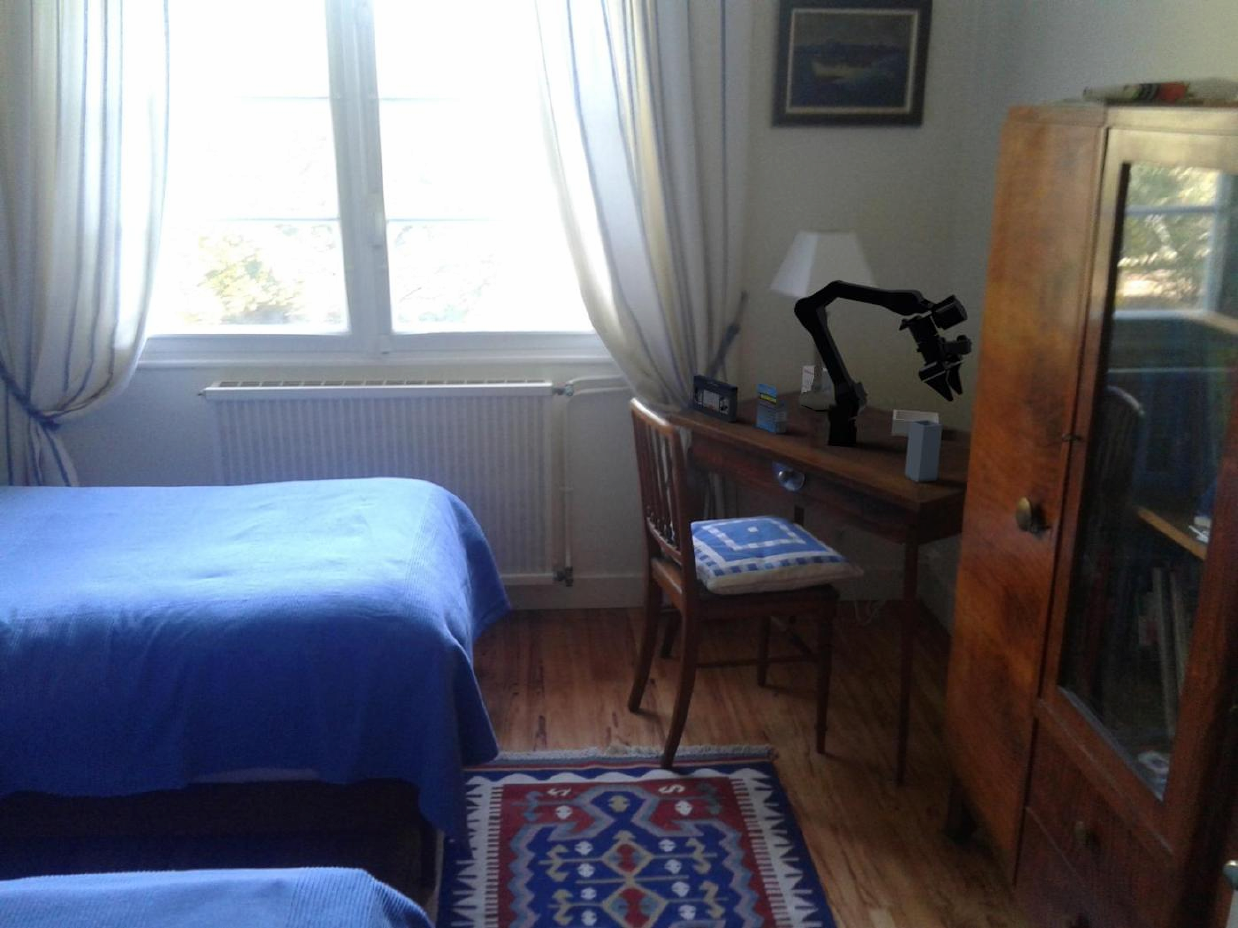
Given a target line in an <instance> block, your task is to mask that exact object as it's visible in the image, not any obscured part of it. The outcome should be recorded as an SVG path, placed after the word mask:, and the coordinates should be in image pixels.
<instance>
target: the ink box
mask: <svg viewBox="0 0 1238 928" xmlns="http://www.w3.org/2000/svg"><path fill="white" fill-rule="evenodd" d="M814 366H815V365H804V366H802V379H801V380H802V381H801V383H802V384H801V393H800V394H802V393H803V392H807V391H810V390H811V385H812V383H813V379H814ZM822 368H823V371H822V390H823V392H824V393H826V394H827V395H829V396H830V397H831V394H832V393H831V391H832V380H831V378H830V376H829V374H828V371H827V369H826V367H822Z"/></svg>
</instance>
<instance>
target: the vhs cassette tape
mask: <svg viewBox="0 0 1238 928" xmlns="http://www.w3.org/2000/svg"><path fill="white" fill-rule="evenodd" d="M692 385H693V386H692V387H693V390H692V391H693V395H692V410H695V411H697V412H699V413H701V414H705V415H707V416H710V417H712V418H715V419H718V420H720V421H723V422H725V423H728V424H731V423H737V418H738V417H737V415H738V414H737V413H738V398H739V397H738V394H739V387H738V386H736V385H733V384H730V383H728V382H724V381H721V380H718V379H715V378H711V377H707V376H704V375H702V374H696V375H693V384H692Z"/></svg>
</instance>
